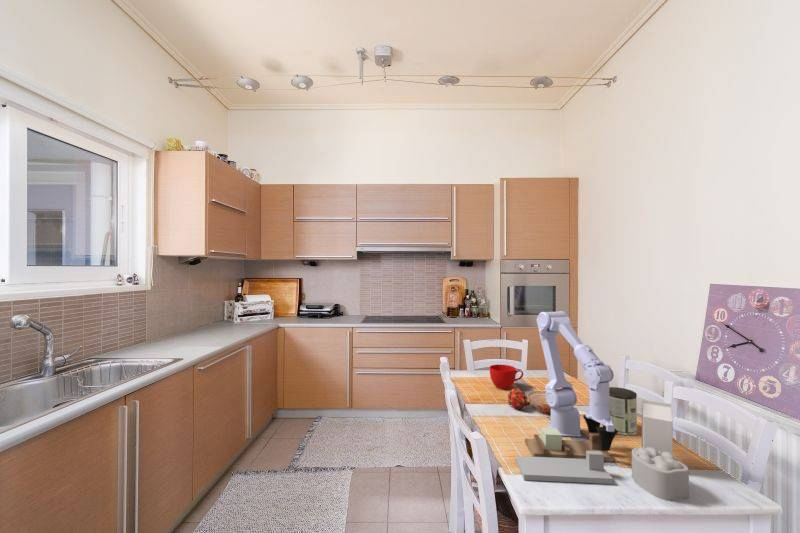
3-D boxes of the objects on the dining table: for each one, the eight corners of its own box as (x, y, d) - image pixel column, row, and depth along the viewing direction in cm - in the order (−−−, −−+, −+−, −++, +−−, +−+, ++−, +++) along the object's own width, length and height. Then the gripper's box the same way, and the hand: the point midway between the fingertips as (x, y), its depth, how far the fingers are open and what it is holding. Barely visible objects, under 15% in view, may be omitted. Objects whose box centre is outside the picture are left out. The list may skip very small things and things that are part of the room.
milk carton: (673, 473, 102) (672, 407, 102) (643, 466, 106) (642, 403, 106) (670, 461, 108) (669, 400, 108) (642, 455, 112) (641, 396, 112)
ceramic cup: (527, 391, 171) (527, 371, 171) (493, 391, 171) (493, 371, 172) (519, 383, 184) (518, 364, 184) (487, 383, 184) (486, 364, 185)
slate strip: (595, 464, 106) (595, 444, 106) (612, 484, 96) (612, 462, 96) (515, 460, 108) (515, 441, 108) (524, 479, 98) (524, 458, 98)
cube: (556, 443, 116) (556, 428, 116) (561, 450, 111) (561, 434, 111) (540, 442, 117) (540, 427, 117) (545, 450, 112) (545, 434, 112)
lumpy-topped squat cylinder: (662, 502, 89) (661, 468, 89) (621, 473, 102) (620, 443, 102) (695, 497, 91) (695, 464, 91) (651, 469, 104) (651, 440, 104)
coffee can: (608, 420, 138) (607, 385, 138) (639, 428, 131) (639, 391, 131) (601, 429, 130) (601, 391, 130) (634, 438, 123) (633, 398, 123)
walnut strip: (597, 445, 118) (597, 427, 118) (613, 461, 108) (613, 442, 108) (525, 442, 120) (524, 425, 120) (533, 458, 110) (533, 439, 110)
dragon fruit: (514, 405, 158) (524, 420, 146) (499, 395, 157) (508, 409, 145) (526, 391, 157) (536, 405, 145) (511, 380, 156) (521, 393, 144)
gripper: (576, 393, 121) (577, 433, 120) (597, 410, 106) (597, 455, 106) (598, 394, 120) (598, 434, 120) (621, 411, 106) (621, 456, 105)
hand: (599, 444), depth 113 cm, fingers open, 7 cm apart
